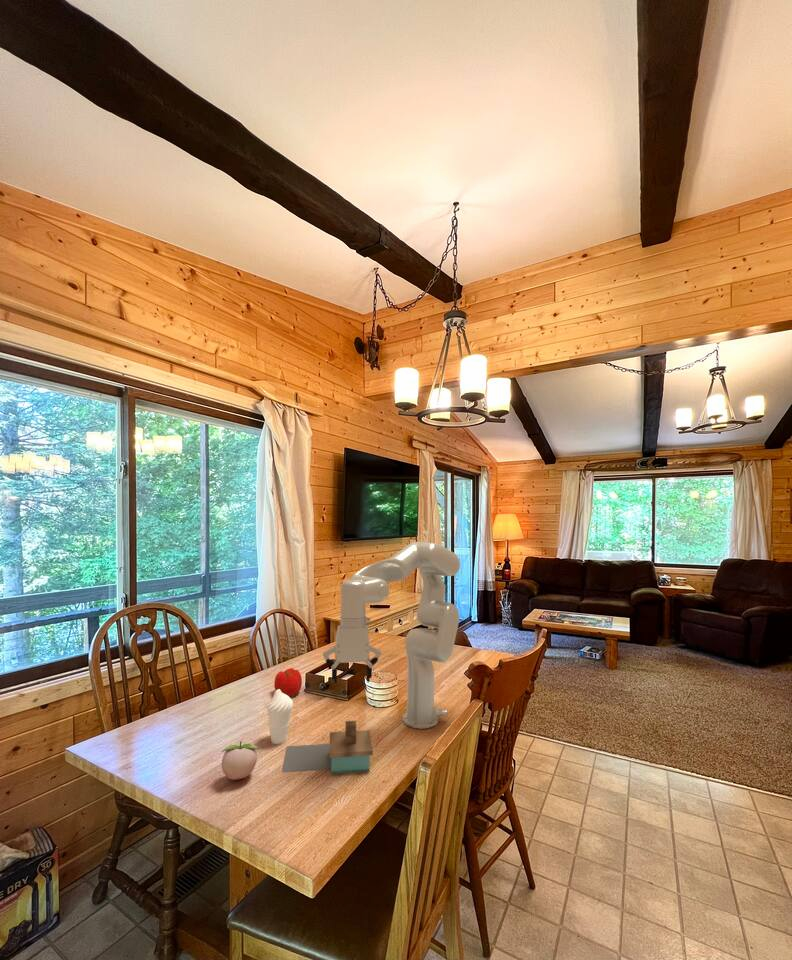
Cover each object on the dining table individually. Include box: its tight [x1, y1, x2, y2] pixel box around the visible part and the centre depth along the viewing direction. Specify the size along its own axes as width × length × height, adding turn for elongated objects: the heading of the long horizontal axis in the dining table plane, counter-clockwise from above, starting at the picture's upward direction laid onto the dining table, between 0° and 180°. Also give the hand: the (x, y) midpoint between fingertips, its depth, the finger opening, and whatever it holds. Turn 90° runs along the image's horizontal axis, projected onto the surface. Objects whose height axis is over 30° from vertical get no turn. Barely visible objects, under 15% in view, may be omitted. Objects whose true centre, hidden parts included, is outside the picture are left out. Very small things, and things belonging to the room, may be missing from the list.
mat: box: [281, 743, 331, 773], centre depth 129 cm, size 14×14×1 cm
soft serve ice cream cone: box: [266, 689, 294, 745], centre depth 139 cm, size 8×8×16 cm
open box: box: [330, 756, 370, 775], centre depth 127 cm, size 11×11×5 cm
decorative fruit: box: [221, 741, 259, 781], centre depth 118 cm, size 9×8×10 cm
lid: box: [329, 720, 374, 758], centre depth 127 cm, size 12×12×6 cm
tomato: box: [273, 667, 303, 697], centre depth 176 cm, size 11×12×9 cm
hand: (351, 681), depth 129 cm, fingers open, 9 cm apart
